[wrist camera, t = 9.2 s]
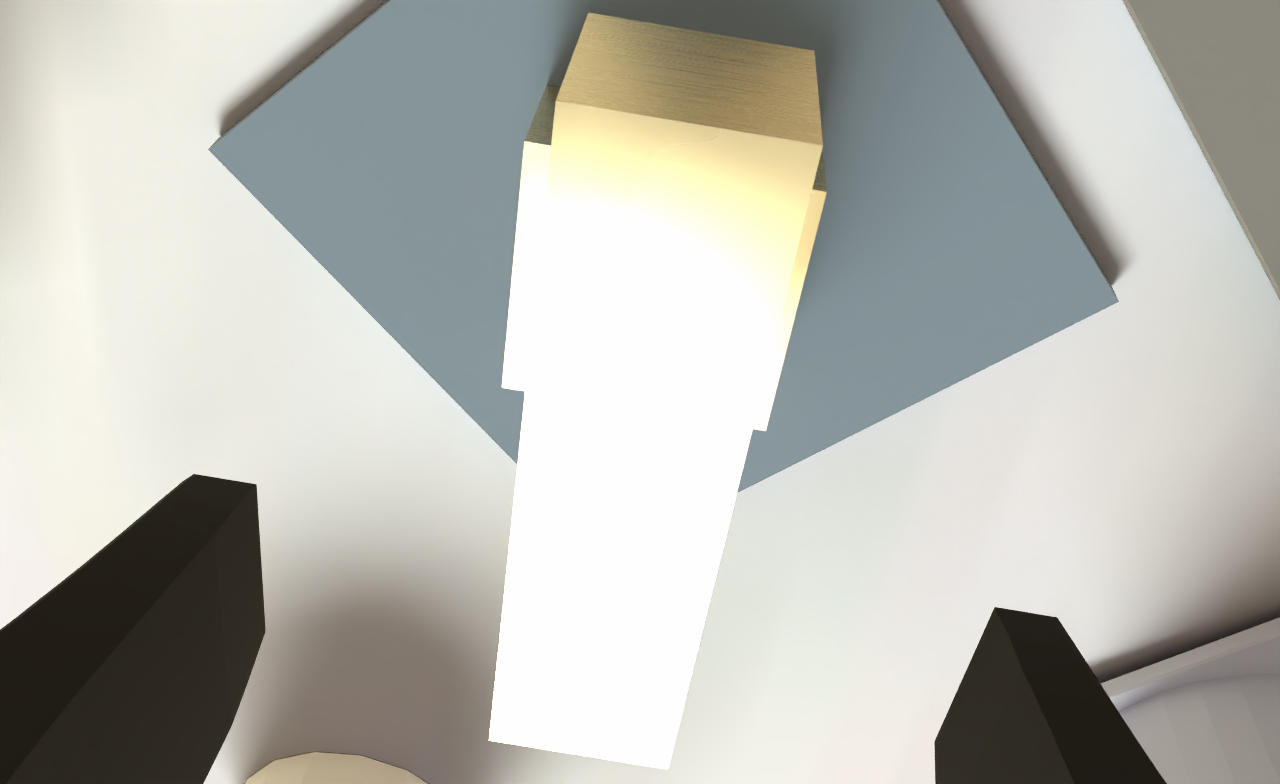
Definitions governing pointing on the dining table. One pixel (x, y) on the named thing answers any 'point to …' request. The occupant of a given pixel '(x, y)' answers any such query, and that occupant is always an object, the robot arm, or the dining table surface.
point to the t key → (643, 364)
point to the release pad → (845, 240)
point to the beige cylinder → (331, 771)
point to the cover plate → (1227, 99)
